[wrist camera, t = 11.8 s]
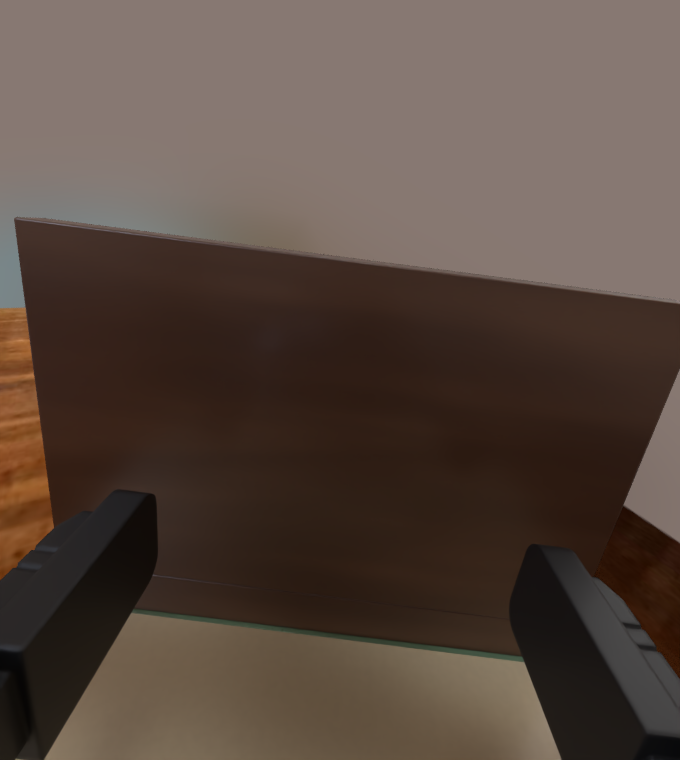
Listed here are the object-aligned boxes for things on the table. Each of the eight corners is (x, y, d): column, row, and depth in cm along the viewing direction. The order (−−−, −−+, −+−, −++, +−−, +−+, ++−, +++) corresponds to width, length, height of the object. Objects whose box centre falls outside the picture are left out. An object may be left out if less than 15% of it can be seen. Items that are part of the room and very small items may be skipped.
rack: (559, 661, 14) (706, 306, 10) (62, 600, 13) (12, 216, 10) (476, 485, 23) (534, 269, 19) (183, 448, 23) (182, 223, 19)
